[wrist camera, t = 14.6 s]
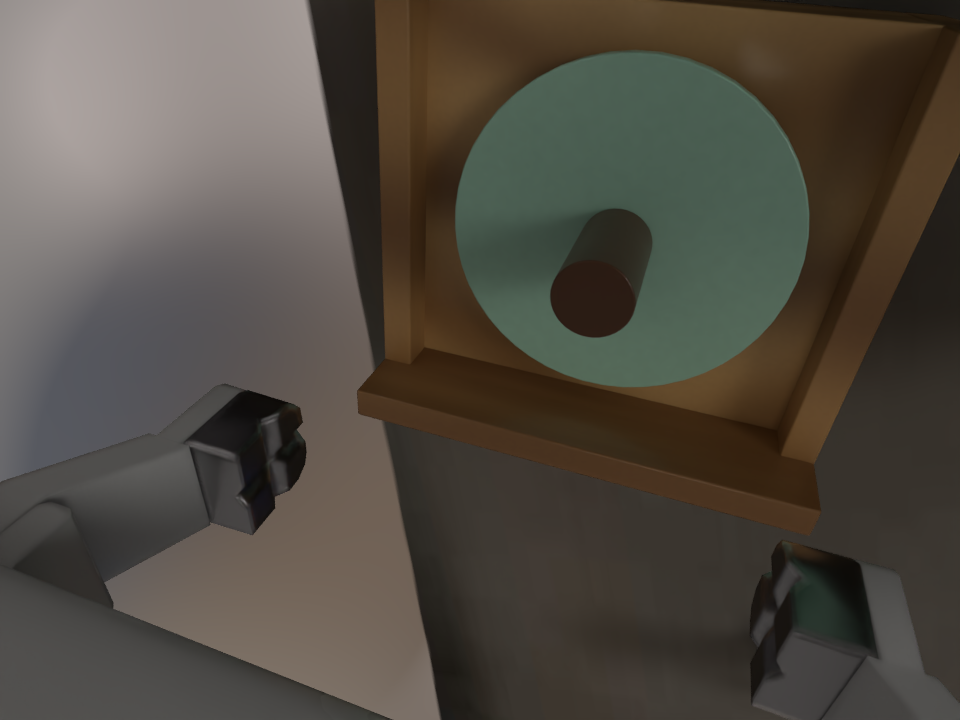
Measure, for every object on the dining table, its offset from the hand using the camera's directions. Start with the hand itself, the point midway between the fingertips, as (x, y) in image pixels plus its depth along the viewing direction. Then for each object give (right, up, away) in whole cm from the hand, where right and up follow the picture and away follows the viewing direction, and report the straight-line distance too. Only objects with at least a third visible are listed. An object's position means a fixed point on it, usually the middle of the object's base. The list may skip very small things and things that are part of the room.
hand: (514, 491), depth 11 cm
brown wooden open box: (+6, +9, +16) cm, 19 cm away
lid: (+4, +6, +11) cm, 14 cm away
